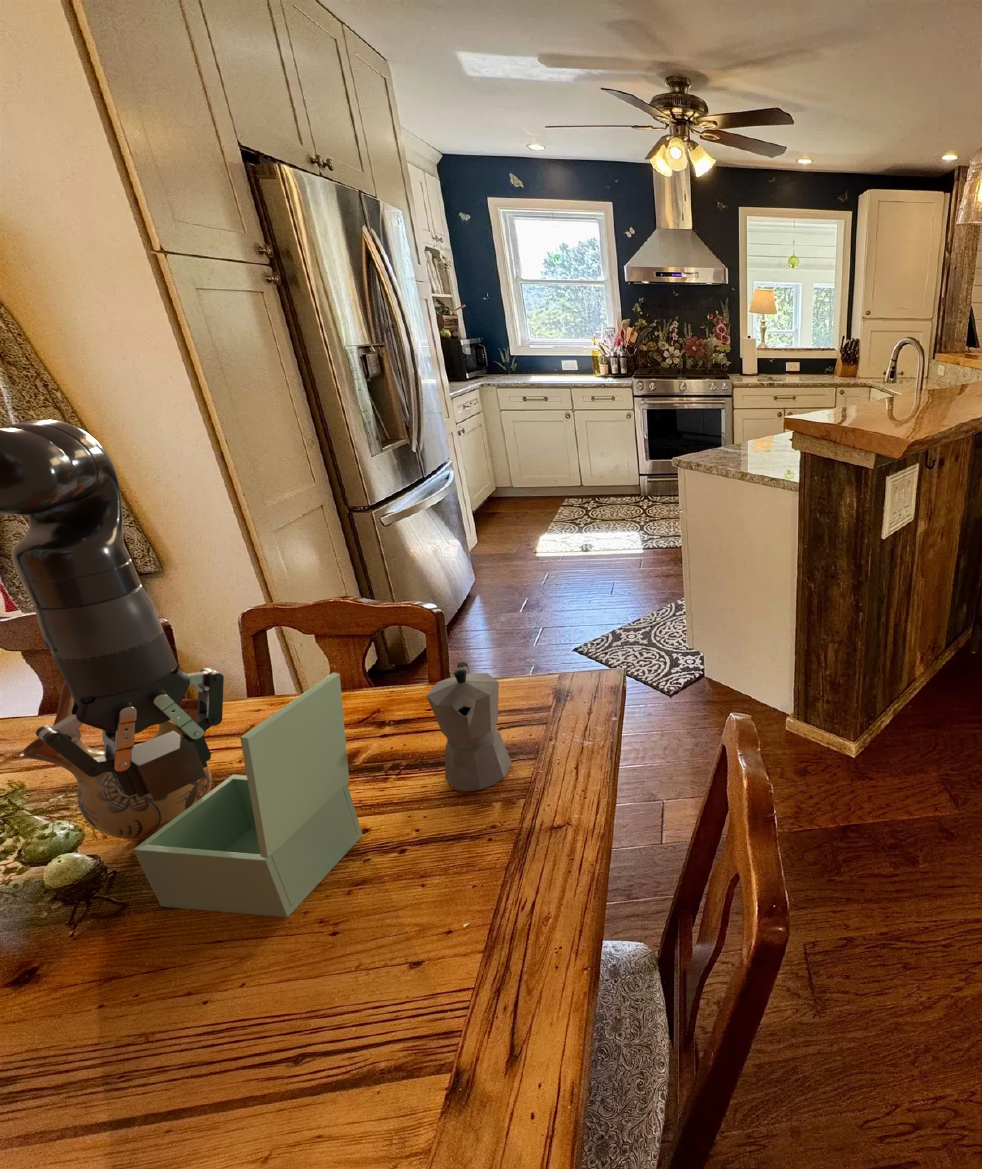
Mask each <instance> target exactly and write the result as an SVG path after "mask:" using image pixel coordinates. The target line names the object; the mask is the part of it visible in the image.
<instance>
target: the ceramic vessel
mask: <svg viewBox="0 0 982 1169" xmlns="http://www.w3.org/2000/svg"><path fill="white" fill-rule="evenodd" d="M73 705H74V699H73V697H72V694H71V692H70V690H69V688H68V686H67V684H66V682H65V681H64V682H63V684H62V687H61V691H60V696H59V701H58V706H57V711H56V714H55V715H56V716H55V718H54V722H53V724H52V726H53V725H55V724H57V723H58V722H60V721H62V720H64V719H65V718H67V717H69V716H70V715H72V708H73ZM179 707H180V708H181V709H182V710H184V711H185V712H186V713H187V714H188V715H189V716H190V717H191V718H192V719H193V718H195V717H196V716H197V715H198V698H183V699H182V702H181V704H180V706H179ZM171 731H175V732H176V733H178V734H179V735H181V736H182V733H181V731H179V730H178V729H177V728H176V727H175V726H174V725H173V724H172V723H170V722H169V721H166V722H164V723H161V724H158V729H157V731H156V733H155V734H154V735H153V736H152V737H151V738H150V739H149V740H152V739H154V738H156V737H159V736H161V735H164V734H166V733H169V732H171ZM142 743H143V742H141V743H137V744H134V747H135V746H137V745H139V744H142ZM75 744H76V745H78V746H79V747H80V748H81V749H83V750H84V751H85V752H86V753H88V754H89V755H90V756H91V757H99V756H104V750H100V749H95V748H93V747H90V746H88V745H87V744H86V743H84V742H83V741H82V739H81V738H80V739H79V740H78V741H76V742H75ZM19 755H20V756H19V757H22V758H24V759H31V760H35V761H42V762H46V763H50V764H53V765H56V766H59V767H61V768H63V769H65V770H66V771H68V772H70V774H72V775H73V776H74V778H75V780H76V782H77V785H78V786H77V787H78V790H77V805H78V809H79V811H80V814H81V816H82V817H83V819H84V820H85V821H86V822H87V823H88V825H90V826H91V827H92V828H93V829H95V830H96V831H98V832H100V833H102V834H104V835H106V836H109V837H112V838H116V839H121V840H130V841H131V840H133V841H134V840H135V841H136V840H137V841H138V840H139V841H142V840H146V839H148V838H149V837H150V836H152V835H153V834H154V833H156V832H157V831H158V830H160V829H161V828H162V827H164V826H165V825H166V824H168V823H169V822H170V821H172V820H173V819H174V818H176V817H177V816H178V815H180V814H181V813H182V812H184V811H185V810H186V809H188V808H189V807H190V806H192V805H193V804H194V803H196V802H197V801H198V800H200V799H201V798H202V797H204V796H205V795H206V794H208V793H209V792H210V791H212V785H213V780H212V774H211V770H210V767H209V765H208V764H207V767H205V768H203V769H204V771H205V774H206V776H205V777H203V778H201V779H199V780H197V781H195V782H193V783H191V784H189V785H186V786H184V787H182V788H180V789H178V790H176V791H174V792H172V793H170V794H168V795H165V796H163V797H161V798H159V799H157V800H155V801H154V800H152V799H151V798H150V797H148V796H147V795H145V796H142V797H140V798H138V797H136V796H135V795H132V796H128V795H126V794H125V793H123V792H122V791H121V790H120V789H119V788H118V786H117V784H116V781H115V780H114V778H113V775H112V773H111V772H106V773H102V774H100V775H99V776H96V777H90V776H88V775H87V774H85V773H84V772H83V771H81V770H80V769H79V768H78V767H76V766H75V765H74V764H72V763H71V762H70V761H69V760H67V759H66V758H65V757H63V756H62V755H61V754H60V753H58V752H57V751H56V750H54V749H53V748H52V747H51V746H49V745H48V744H47V743H45V742H44V741H43V740H42V739H40V738H39V737H38V738H36V739H35V740H33V741H32V742H30V743H29V744H28V745H26V747H25V748H24V749H23V750H22V751H21V752H20V754H19Z"/></svg>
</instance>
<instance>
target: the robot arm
mask: <svg viewBox="0 0 982 1169" xmlns="http://www.w3.org/2000/svg"><path fill="white" fill-rule="evenodd" d="M118 477H119V476H118V473H117V470H116V468H115V465H114V462H113V460H112V459H111V457H110V455H109V454H108V452H107V451H106V450H105V448H104V447H103V446H102V445H101V443H100V442H99V441H98V440H97V439H96V438H94V437H93V436H92V435H91V434H89V433H88V432H87V431H85V430H84V429H82V428H80V427H78V426H76V425H73V424H71V423H68V422H64V421H61V420H54V419H33V420H27V421H21V422H17V423H13V424H6V425H2V426H0V515H7V516H27V519H28V529H27V531H26V533H25V534H24V536H22V538H21V539H20V540H19V541H18V542H17V543H15V545H14V546H13V548H12V550H11V560H12V564H13V566H14V570H15V571H16V573H17V575H18V577H19V579H20V582H21V583H22V585H23V588H24V590H25V592H26V594H27V596H28V598H29V601H30V602H31V605H32V607H33V610H34V611H35V612H34V613H35V615H36V619H37V623H38V626H39V630H40V632H41V635H42V637H43V643H44V645H45V647H46V649H47V650H48V651H50V653H51V655H52V657H53V659H54V661H55V664H56V666H57V668H58V670H59V672H60V674H61V676H62V678H63V680H64V683H65V682H66V684H67V686H68V688H69V690H70V692H71V694H72V697H73V699H74V705H73V708H72V715H70V716H69V717H67V718H65V719H64V720H62V721H60V722H58V723H57V724H55V725H53V724H52V725H50V724H44V725H42V726H40V727H38V728H37V729H36V730H35V735H36V737H38V738H40V739H42V740H43V741H44V742H45V743H47V744H48V745H49V746H51V747H52V748H53V749H54V750H56V751H57V752H58V753H60V754H61V755H62V756H63V757H65V758H66V759H67V760H69V761H70V762H71V763H72V764H74V765H75V766H76V767H78V768H79V769H80V770H81V771H83V772H84V773H85V774H87V775H88V776H90V777H96V776H99V775H100V774H102V773H106V772H111V773H112V775H113V778H114V780H115V781H116V784H117V786H118V788H119V789H120V790H121V791H122V792H123V793H125V794H126V795H128V796H132V795H135V796H136V797H138V798H140V797H142V796H145V795H147V792H146V789H145V787H144V785H143V783H142V781H141V779H140V777H139V774H138V772H137V770H136V768H135V766H133V765H132V764H131V758H132V748H133V747H134V745H135V740H136V739H135V737H136V736H135V735H137V734H140V733H142V732H143V731H145V730H147V729H148V728H150V727H152V726H157V725H159V724H161V723H164V722H166V721H169V722H170V723H172V724H173V725H174V726H175V727H176V728H177V729H178V730H179V731H181V733H182V737H184V738H186V739H187V740H189V741H190V742H192V743H193V744H194V747H195V749H196V752H197V754H198V757H199V759H200V762H201V764H202V766H203V768H205V767H207V765H208V763H207V762H208V761H210V760H211V758H212V753H211V751H210V749H209V746H208V743H207V741H206V738H205V733H206V731H207V730H208V729H210V728H212V727H216V726H218V725H220V724H221V723H222V721H223V709H224V680H225V679H224V678H225V676H224V674H222V673H220V672H219V671H217V670H215V669H212V668H211V667H204V668H201V669H200V670H199V671H197V672H190V673H186V672H184V671H182V670H181V669H180V668H179V665H178V663H177V660H176V658H175V655H174V652H173V650H172V647H171V645H170V643H169V641H168V638H167V635H166V633H165V630H164V628H163V625H162V623H161V620H160V617H159V615H158V612H157V609H156V607H155V605H154V603H153V601H152V600H151V598H150V597H149V595H148V594H147V592H146V590H145V588H144V586H143V585H142V583H141V580H140V577H139V575H138V572H137V569H136V567H135V564H134V563H133V560H132V557H131V555H130V553H129V551H128V549H127V546H126V544H125V541H124V540H125V539H124V515H123V505H122V496H121V487H120V481H119V478H118ZM190 685H191V687H192V689H193V690H195V691H197V700H198V715H197V716H196V717H195V718H193V719H192V718H191V717H190V716H189V715H188V714H187V713H186V712H185V711H184V710H182V709H181V708H180V707H179V706H180V704H181V702H182V699H184V697H185V695H186V694H187V691H188V689H189V687H190ZM82 725H87V726H89V727H92V728H96V729H98V730H102V734H101V735H102V736H101V737H102V738H101V739H102V743H103V745H104V746H103V751H104V756H99V757H91V756H90V755H89V754H88V753H86V752H85V751H84V750H83V749H81V748H80V747H79V746H78V745H76V744H75V742H76V741H78V740H79V739H81V736H82V734H81V732H80V728H81V727H82Z"/></svg>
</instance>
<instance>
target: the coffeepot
mask: <svg viewBox="0 0 982 1169" xmlns="http://www.w3.org/2000/svg"><path fill="white" fill-rule="evenodd" d="M499 684H500V682H499V680H497V679H496V678H494V677H493V676H492V675H490V674H489V673H488V672H470V670H469V664H468V663H467V662H465V661H460V662H458V663H457V665H456V670H455V671H453V676H451V677H448V678H445V679H442V680H440V681H437V682H436V683H435V684H434V686H433V687H432V688H431V689H430V690H429V692H428V693H427V694H426V699H427V701H428V704H429V706H430V708H431V710H432V712H433V715H434V717H435V720H436V721H437V724H438V727H439V730H440V731H441V733H442V734H443V735H444V736H445V737H446V743H445V752H444V753H445V758H444V759H445V762H444V763H445V764H444V765H445V766H444V767H445V770H444V779H445V780H446V781H447V783H448V784H449V786H450V787H451V788H453V789H454V790H455V791H461V792H475V791H480V790H484V789H487V788H489V787H491V786H494V785H496V784H498V782H500V781H502V780H503V779H504V778H505V777H506V775H508V773H509V770H510V768H511V765H512V763H513V762H512V759H511V757H510V755H509V753H508V750H507V748H506V745H505V743H504V740H503V737H502V735H501V733H500V731H499V730H498V729H497V723H498V721H499V688H500V687H499V686H500V685H499Z"/></svg>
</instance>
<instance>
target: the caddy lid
mask: <svg viewBox="0 0 982 1169" xmlns="http://www.w3.org/2000/svg"><path fill="white" fill-rule="evenodd" d="M341 684H342V683H341V674H340V673H338V672H331V673H330V674H329V675H327V676H326V677H325V678H323V679H322V680H320V681H318V682H317V683H316V684H314V685H313V686H311V687H310V688H309V689H307V690H305V691H304V692H303V693H301V694H300V695H299V696H297V697H296V698H294V699H293V700H292V701H290V702H288V703H287V704H286V705H285V706H283V707H281V708H280V709H279V710H277V711H275V712H274V713H273V714H271V715H269V717H266V719H264V720H263V721H261V722H260V723H258V724H257V725H256V726H254V727H253V728H251V729H250V730H248V731H247V732H246V733H244V734H243V735H241V736H240V737H239V739H240V744H241V750H242V757H243V761H244V768H245V773H246V774H245V775H246V776H247V780H248V785H249V791H250V797H251V803H252V809H253V814H254V820H255V826H256V832H257V837H258V843H259V849H260V855H261V857H264V858H268V857H269V856H270V855H272V854H273V853H274V852H275V851H276V850H277V849H278V848H279V847H280V846H281V845H282V844H283V843H284V842H285V841H286V840H287V839H288V838H289V837H291V836H292V835H293V834H294V833H295V832H296V831H297V830H298V829H299V828H300V827H301V826H302V825H303V824H304V823H305V822H306V821H307V820H308V819H310V818H311V817H312V816H313V815H314V814H315V813H316V812H317V811H318V810H319V809H320V808H321V807H322V806H323V805H324V804H325V803H326V802H328V801H329V800H330V799H331V798H332V797H333V796H334V795H335V794H336V793H337V792H338V791H339V790H340V789H341V788H342V787H343V786H344V785H345V784H348V783H349V782H350V776H349V775H350V774H349V762H348V751H347V750H348V749H347V742H346V740H347V739H346V730H345V719H344V717H345V716H344V707H343V696H342V695H343V694H342V685H341Z"/></svg>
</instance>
